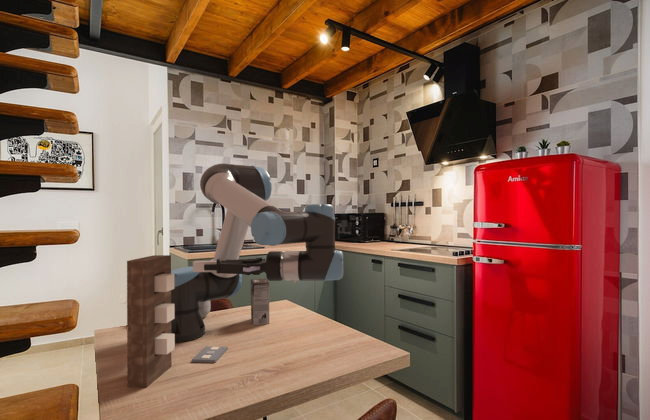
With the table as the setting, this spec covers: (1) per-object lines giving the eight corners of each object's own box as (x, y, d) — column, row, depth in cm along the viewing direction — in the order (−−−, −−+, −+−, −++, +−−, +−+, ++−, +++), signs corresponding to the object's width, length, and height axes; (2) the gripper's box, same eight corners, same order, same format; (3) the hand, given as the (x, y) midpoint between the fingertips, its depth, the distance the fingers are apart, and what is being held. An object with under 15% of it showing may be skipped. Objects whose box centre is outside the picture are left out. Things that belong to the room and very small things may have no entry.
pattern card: (227, 349, 111) (227, 346, 111) (215, 362, 101) (215, 359, 101) (206, 348, 111) (206, 345, 111) (191, 362, 101) (191, 358, 102)
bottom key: (174, 348, 95) (174, 333, 95) (166, 354, 91) (166, 338, 91) (160, 348, 95) (160, 333, 95) (151, 354, 91) (151, 338, 91)
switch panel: (171, 366, 99) (170, 255, 99) (146, 387, 87) (146, 260, 87) (154, 365, 99) (153, 255, 100) (127, 386, 87) (126, 260, 88)
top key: (174, 288, 95) (174, 273, 95) (166, 291, 91) (166, 276, 91) (160, 288, 95) (159, 273, 95) (151, 291, 91) (151, 276, 91)
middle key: (174, 318, 95) (174, 303, 95) (166, 323, 91) (166, 307, 91) (160, 318, 95) (160, 303, 95) (151, 323, 91) (151, 307, 91)
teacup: (201, 322, 140) (201, 301, 140) (177, 320, 142) (177, 300, 142) (219, 312, 154) (218, 293, 154) (196, 311, 156) (196, 293, 156)
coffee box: (250, 319, 143) (250, 279, 143) (266, 317, 145) (266, 278, 145) (252, 325, 134) (252, 283, 135) (269, 323, 136) (269, 282, 137)
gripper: (278, 285, 84) (182, 285, 86) (287, 276, 97) (204, 276, 99) (277, 254, 84) (182, 254, 86) (287, 248, 97) (204, 249, 99)
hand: (194, 266), depth 92 cm, fingers closed
